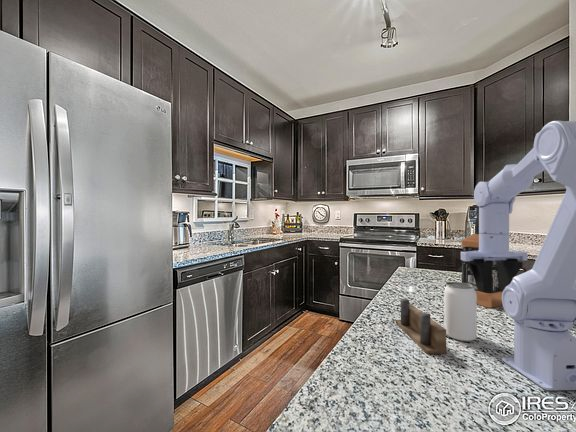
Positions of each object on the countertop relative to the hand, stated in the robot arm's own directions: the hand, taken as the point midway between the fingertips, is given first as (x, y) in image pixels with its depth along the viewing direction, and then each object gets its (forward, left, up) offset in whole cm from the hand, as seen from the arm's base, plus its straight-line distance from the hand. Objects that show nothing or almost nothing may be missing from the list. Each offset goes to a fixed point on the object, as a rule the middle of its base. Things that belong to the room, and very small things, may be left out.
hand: (493, 291), depth 66 cm
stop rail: (0, +17, -10) cm, 20 cm away
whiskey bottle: (+24, -15, -11) cm, 30 cm away
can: (0, +8, -11) cm, 13 cm away
